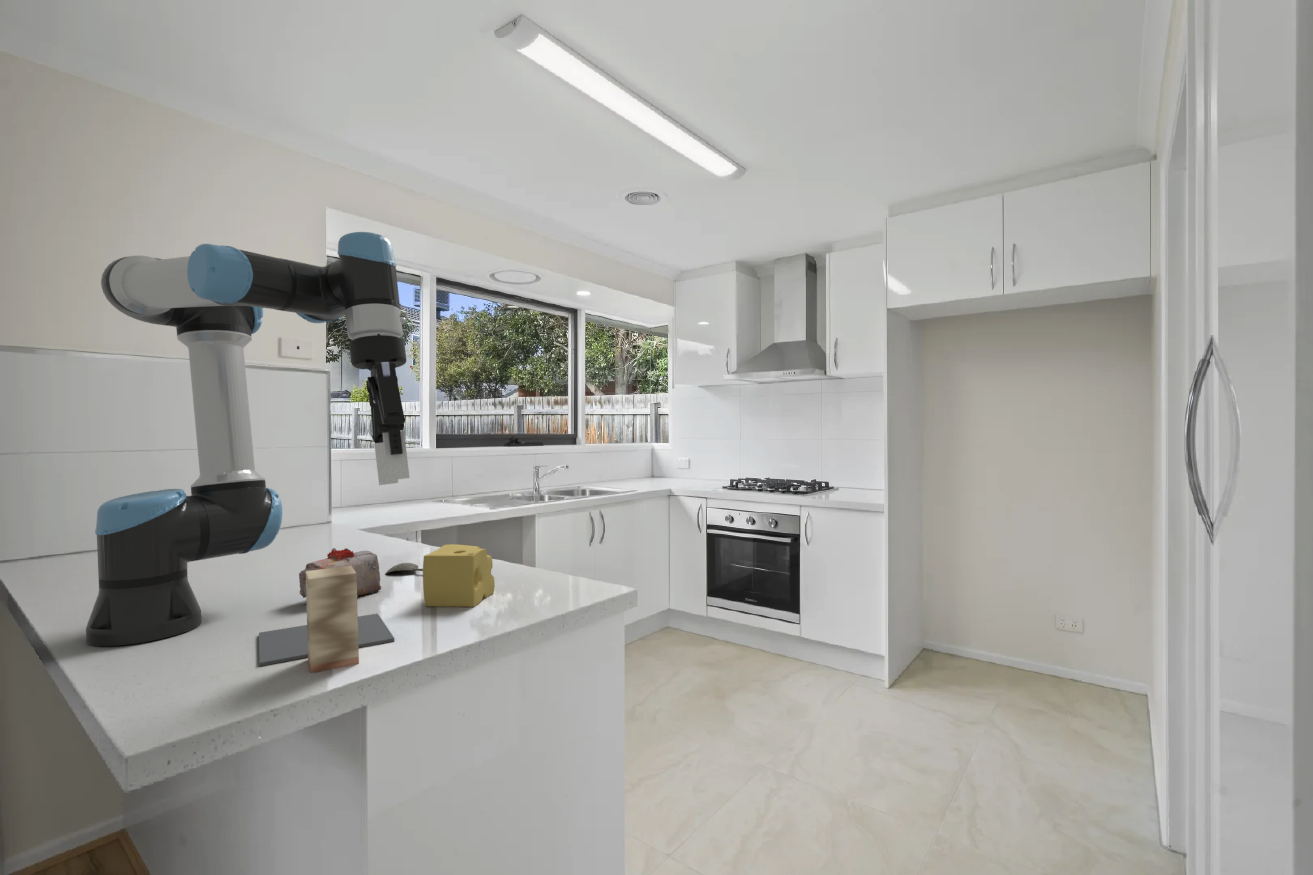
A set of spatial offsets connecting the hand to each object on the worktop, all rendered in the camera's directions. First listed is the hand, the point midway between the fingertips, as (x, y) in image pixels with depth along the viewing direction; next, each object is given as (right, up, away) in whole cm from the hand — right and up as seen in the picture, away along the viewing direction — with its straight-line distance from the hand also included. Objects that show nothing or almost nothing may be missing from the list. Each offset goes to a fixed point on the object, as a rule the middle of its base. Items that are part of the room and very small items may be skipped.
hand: (393, 482), depth 92 cm
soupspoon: (-14, -26, +51) cm, 59 cm away
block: (-8, -26, -1) cm, 27 cm away
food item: (-24, -26, +34) cm, 49 cm away
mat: (-15, -26, +9) cm, 31 cm away
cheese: (0, -25, +30) cm, 40 cm away
